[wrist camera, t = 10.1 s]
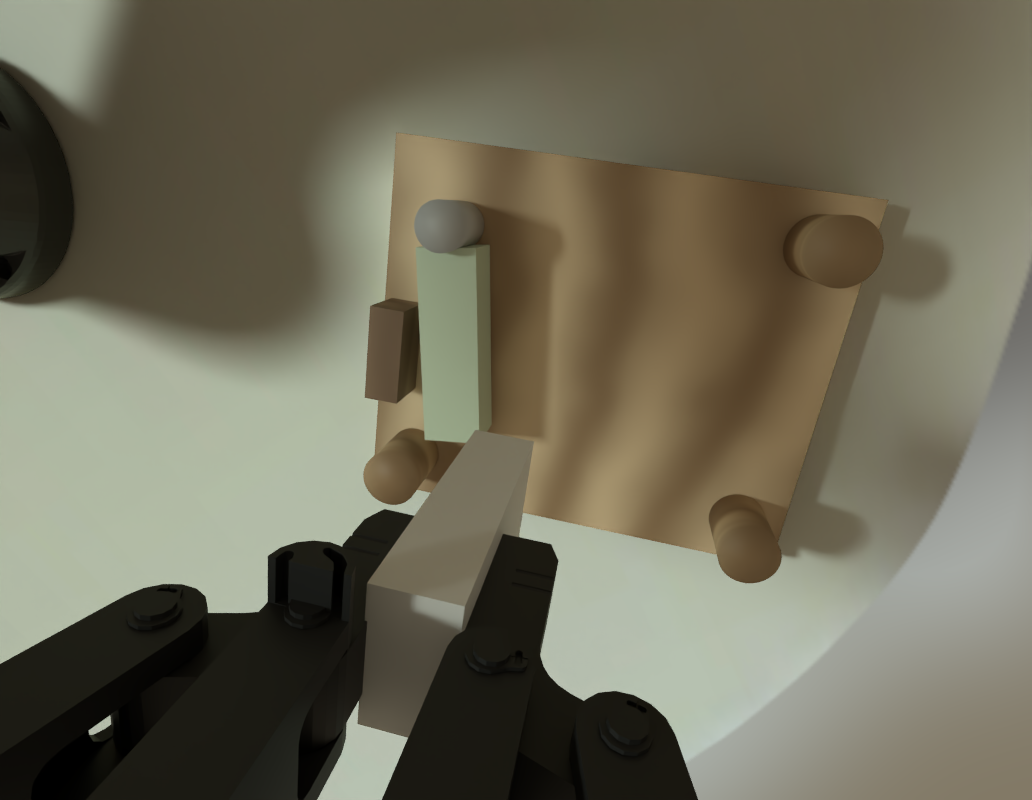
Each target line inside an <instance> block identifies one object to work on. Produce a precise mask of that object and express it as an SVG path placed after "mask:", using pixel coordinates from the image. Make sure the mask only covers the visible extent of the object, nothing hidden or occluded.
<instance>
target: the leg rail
mask: <svg viewBox="0 0 1032 800" xmlns="http://www.w3.org/2000/svg"><path fill="white" fill-rule="evenodd" d="M414 230H415V234H416V237H417V239H418V241H419V242H420V243H421V245H422V246H421V247H416V267H417V288H418V309H419V330H420V351H421V372H422V393H423V414H424V435H425V440H433V441H447V442H462V443H466V442H467V441H468V440H469V438H470V437H471V435H472V434H473V433H474V431H475V430H479V431H484V432H487V431H488V430H489V428H490V426H491V425H492V406H491V315H490V245H474V244H476V243H477V242H478V241H479V240H480V238H481V237H482V234H483V231H484V219H483V216H482V213H481V212H480V210H479V209H478V208H477V207H476V206H475V205H474V204H472V203H470V202H468V201H462V200H442V199H435V200H431V201H428V202H426V203H425V204H424V205H422V206H421V207H420V209H419V210H418V212H417V214H416V216H415V221H414Z"/></svg>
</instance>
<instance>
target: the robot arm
mask: <svg viewBox="0 0 1032 800" xmlns="http://www.w3.org/2000/svg"><path fill="white" fill-rule="evenodd" d="M71 226H72V193H71V185H70V180H69V175H68V171H67V167H66V164H65V161H64V157H63V155H62V152H61V149H60V146H59V144H58V142H57V140H56V137H55V135H54V133H53V131H52V129H51V127H50V126H49V124H48V122H47V120H46V119H45V117H44V115H43V114H42V112H41V111H40V109H39V108H38V106H37V105H36V104H35V102H34V101H33V100H32V98H31V97H30V96H29V95H28V94H27V92H26V91H25V90H24V89H23V88H22V87H21V86H20V85H19V84H18V83H17V82H16V81H15V80H14V79H13V78H12V77H11V76H10V75H9V74H7V73H6V72H5V71H4V70H3V69H1V68H0V299H1V298H8V297H14V296H19V295H22V294H25V293H27V292H30V291H32V290H34V289H35V288H37V287H39V286H40V285H41V284H43V283H44V282H45V281H46V280H47V279H48V278H49V277H50V276H51V275H52V274H53V272H54V271H55V270H56V268H57V267H58V265H59V264H60V262H61V260H62V258H63V256H64V253H65V251H66V248H67V245H68V242H69V238H70V233H71ZM533 445H534V441H529V440H524V439H519V438H514V437H509V436H504V435H499V434H494V433H489V432H484V431H479V430H475V431H474V433H473V434H472V435H471V437H470V438H469V440H468V441H467V442H466V444H465V445H464V447H463V448H462V449H461V451H460V452H459V454H458V455H457V457H456V458H455V459H454V461H453V462H452V464H451V465H450V466H449V468H448V469H447V471H446V472H445V474H444V475H443V476H442V478H441V479H440V481H439V482H438V483H437V485H436V486H435V488H434V489H433V491H432V492H431V493H430V495H429V496H428V498H427V499H426V500H425V502H424V503H423V505H422V506H421V508H420V509H419V510H418V512H417V513H416V515H415V516H413V515H408V514H404V513H399V512H395V511H390V510H386V509H384V510H382V511H380V512H378V513H376V514H374V515H372V516H370V517H368V518H366V519H365V520H364V521H363V522H362V523H361V524H360V525H359V526H358V528H357V529H356V530H355V531H354V532H353V535H352V536H350V537H349V538H348V539H347V540H346V542H345V543H344V544H343V547H341V546H339V545H336V544H333V543H331V542H322V541H306V542H296V543H293V544H290V545H287V546H284V547H281V548H279V549H278V550H276V551H275V552H273V553H272V554H270V555H269V556H268V602H267V604H266V605H265V606H264V607H263V608H262V609H261V610H260V611H259V612H253V613H208V607H207V602H206V597H205V596H204V595H203V594H202V593H201V592H200V591H198V590H197V589H196V588H192V587H189V586H185V585H182V584H162V585H157V586H152V587H147V588H143V589H141V590H138V591H136V592H133V593H131V594H128V595H126V596H124V597H122V598H120V599H119V600H117V601H115V602H113V603H111V604H109V605H108V606H106V607H104V608H102V609H100V610H98V611H97V612H95V613H93V614H91V615H89V616H87V617H86V618H84V619H82V620H80V621H78V622H76V623H75V624H73V625H71V626H69V627H67V628H65V629H64V630H62V631H60V632H58V633H56V634H54V635H53V636H51V637H49V638H47V639H45V640H43V641H42V642H40V643H38V644H36V645H34V646H32V647H31V648H29V649H27V650H25V651H23V652H21V653H20V654H18V655H16V656H14V657H12V658H10V659H9V660H7V661H5V662H3V663H1V664H0V800H317V799H318V797H319V795H320V793H321V791H322V789H323V787H324V785H325V784H326V782H327V780H328V778H329V776H330V774H331V772H332V770H333V768H334V767H335V765H336V763H337V761H338V759H339V757H340V755H341V753H342V750H343V746H344V743H345V739H346V722H347V720H348V719H349V717H350V715H351V713H352V711H353V710H354V708H355V706H356V704H357V702H358V701H359V710H358V724H360V725H364V726H368V727H371V728H375V729H379V730H382V731H386V732H390V733H393V734H397V735H401V736H404V737H408V740H407V742H406V744H405V747H404V749H403V752H402V754H401V756H400V759H399V761H398V763H397V766H396V768H395V770H394V773H393V775H392V777H391V780H390V782H389V784H388V787H387V789H386V791H385V794H384V796H383V798H382V800H698V799H697V796H696V792H695V790H694V787H693V784H692V781H691V778H690V776H689V773H688V770H687V767H686V764H685V761H684V758H683V756H682V753H681V750H680V747H679V744H678V741H677V739H676V736H675V733H674V732H673V730H672V728H671V726H670V725H669V723H668V721H667V719H666V718H665V717H664V716H663V715H662V714H661V713H660V712H659V711H658V710H657V709H656V708H654V707H653V706H652V705H651V704H649V703H648V702H646V701H644V700H642V699H640V698H638V697H636V696H634V695H631V694H626V693H621V692H617V691H612V692H602V693H597V694H595V695H594V696H592V697H590V698H588V699H586V700H585V701H583V700H581V699H579V698H577V697H575V696H574V695H572V694H570V693H569V692H567V691H566V690H564V689H563V688H561V687H560V686H558V685H557V684H556V682H555V681H554V680H553V679H552V678H551V677H550V676H549V675H548V673H547V672H546V670H545V668H544V667H543V664H542V661H541V657H540V653H541V648H542V643H543V638H544V633H545V629H546V624H547V618H548V613H549V608H550V603H551V597H552V592H553V587H554V581H555V576H556V571H557V565H558V559H557V557H556V554H555V552H554V550H553V548H552V545H551V544H547V543H543V542H538V541H533V540H529V539H524V538H520V537H519V532H520V526H521V520H522V513H523V507H524V501H525V495H526V488H527V482H528V476H529V470H530V464H531V457H532V451H533ZM109 715H111V725H110V726H109V727H107V728H106V729H104V730H102V731H100V732H98V733H96V734H94V735H89V731H88V730H90V729H91V728H92V727H94V726H95V725H97V724H98V723H99V722H101V721H102V720H104V719H105V718H106V717H108V716H109Z"/></svg>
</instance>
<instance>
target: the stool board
mask: <svg viewBox="0 0 1032 800" xmlns="http://www.w3.org/2000/svg"><path fill="white" fill-rule="evenodd" d="M435 199H442V200H462V201H468V202H470V203H472V204H474V205H475V206H476V207H477V208H478V209H479V210H480V212H481V213H482V216H483V219H484V231H483V234H482V237H481V238H480V240H479V241H478V242H477V243H476V244H474V245H490V315H491V406H492V425H491V426H490V428H489V430H488V431H487V432H489V433H494V434H499V435H504V436H509V437H514V438H519V439H524V440H529V441H534V445H533V451H532V457H531V464H530V470H529V476H528V482H527V488H526V495H525V501H524V507H523V513H527V514H532V515H537V516H541V517H546V518H550V519H555V520H560V521H564V522H569V523H574V524H578V525H583V526H587V527H592V528H597V529H601V530H606V531H611V532H615V533H620V534H624V535H629V536H634V537H638V538H643V539H648V540H652V541H657V542H661V543H666V544H671V545H675V546H680V547H685V548H689V549H694V550H698V551H703V552H708V553H712V554H717V557H718V561H719V564H720V567H721V568H722V570H723V571H724V573H725V574H726V575H728V576H729V577H730V578H732V579H734V580H736V581H739V582H743V583H757V582H761V581H764V580H766V579H768V578H769V577H771V576H772V575H773V574H774V573H775V572H776V571H777V570H778V568H779V566H780V564H781V558H782V556H781V550H780V548H779V545H778V540H779V537H780V533H781V530H782V527H783V524H784V521H785V518H786V515H787V512H788V509H789V506H790V503H791V500H792V496H793V493H794V490H795V487H796V484H797V481H798V478H799V475H800V472H801V469H802V466H803V463H804V459H805V456H806V453H807V450H808V447H809V444H810V441H811V438H812V435H813V432H814V429H815V426H816V422H817V419H818V416H819V413H820V410H821V407H822V404H823V401H824V398H825V395H826V392H827V389H828V385H829V382H830V379H831V376H832V373H833V370H834V367H835V364H836V361H837V358H838V355H839V351H840V348H841V345H842V342H843V339H844V336H845V333H846V330H847V327H848V324H849V321H850V318H851V314H852V311H853V308H854V305H855V302H856V299H857V296H858V293H859V290H860V287H861V284H862V282H863V281H864V280H866V279H867V278H868V277H869V276H870V275H871V274H872V273H873V272H874V271H875V269H876V268H877V267H878V265H879V263H880V260H881V258H882V254H883V240H882V236H881V234H880V232H879V228H880V225H881V222H882V219H883V216H884V213H885V210H886V206H887V203H888V200H884V199H877V198H870V197H862V196H855V195H848V194H840V193H833V192H826V191H819V190H811V189H804V188H797V187H789V186H782V185H775V184H768V183H760V182H753V181H746V180H738V179H731V178H724V177H717V176H709V175H702V174H695V173H687V172H680V171H673V170H666V169H658V168H651V167H644V166H636V165H629V164H622V163H615V162H607V161H600V160H593V159H585V158H578V157H571V156H564V155H556V154H549V153H542V152H534V151H527V150H520V149H513V148H505V147H498V146H491V145H483V144H476V143H469V142H462V141H454V140H447V139H440V138H432V137H425V136H418V135H411V134H403V133H396V147H395V162H394V177H393V191H392V206H391V221H390V236H389V251H388V266H387V281H386V295H385V301H382V302H380V303H377V304H374V305H372V306H370V320H369V336H368V353H367V370H366V387H365V398H370V399H375V400H378V414H377V429H376V444H375V455H374V456H373V457H372V458H371V459H370V460H369V461H368V463H367V464H366V466H365V469H364V482H365V485H366V487H367V489H368V491H369V492H370V493H371V495H372V496H373V497H375V498H376V499H377V500H379V501H381V502H383V503H386V504H391V505H397V504H401V503H404V502H406V501H407V500H409V499H410V498H411V497H412V495H413V494H414V493H415V492H416V490H421V491H426V492H430V493H431V492H432V491H433V489H434V488H435V486H436V485H437V483H438V482H439V481H440V479H441V478H442V476H443V475H444V474H445V472H446V471H447V469H448V468H449V466H450V465H451V464H452V462H453V461H454V459H455V458H456V457H457V455H458V454H459V452H460V451H461V449H462V448H463V447H464V445H465V444H466V443H462V442H447V441H433V440H425V435H424V414H423V393H422V372H421V351H420V330H419V309H418V288H417V267H416V247H421V246H422V245H421V243H420V242H419V241H418V239H417V237H416V234H415V230H414V221H415V216H416V214H417V212H418V210H419V209H420V207H421V206H422V205H424V204H425V203H426V202H428V201H431V200H435Z"/></svg>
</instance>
